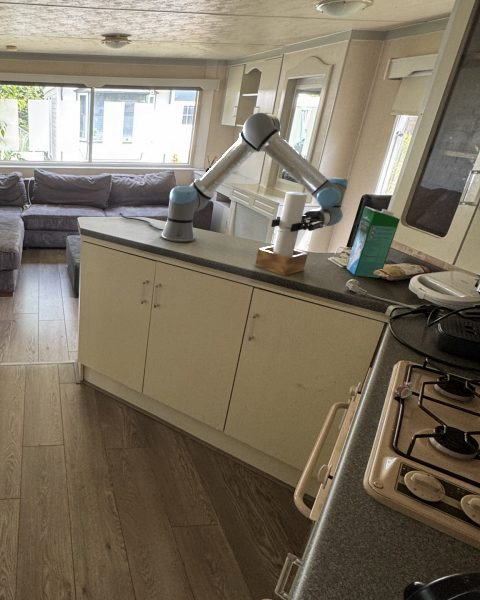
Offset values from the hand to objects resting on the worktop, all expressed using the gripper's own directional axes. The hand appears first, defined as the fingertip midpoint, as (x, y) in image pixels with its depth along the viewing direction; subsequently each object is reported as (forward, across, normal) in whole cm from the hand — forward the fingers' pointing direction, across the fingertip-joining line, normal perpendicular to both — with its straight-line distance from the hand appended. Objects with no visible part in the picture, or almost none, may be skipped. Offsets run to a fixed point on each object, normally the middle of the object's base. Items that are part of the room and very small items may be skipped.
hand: (282, 225), depth 160 cm
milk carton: (-30, -20, -18) cm, 40 cm away
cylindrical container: (-5, 0, -14) cm, 15 cm away
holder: (-5, 0, -18) cm, 18 cm away
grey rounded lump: (+49, -64, -18) cm, 83 cm away
